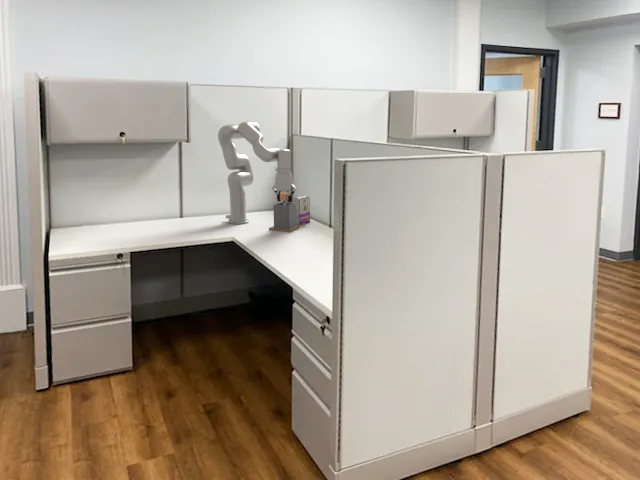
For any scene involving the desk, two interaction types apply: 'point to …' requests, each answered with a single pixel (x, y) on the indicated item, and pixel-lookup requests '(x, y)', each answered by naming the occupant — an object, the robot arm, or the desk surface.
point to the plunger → (284, 197)
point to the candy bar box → (302, 209)
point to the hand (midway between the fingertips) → (284, 201)
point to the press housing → (285, 217)
